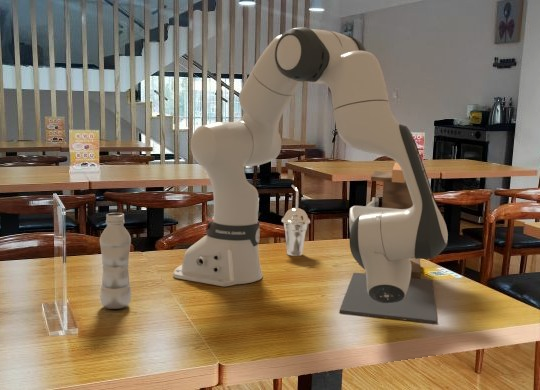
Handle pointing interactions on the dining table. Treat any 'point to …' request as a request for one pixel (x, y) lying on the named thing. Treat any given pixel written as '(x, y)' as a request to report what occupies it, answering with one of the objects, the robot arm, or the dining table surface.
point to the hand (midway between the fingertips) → (396, 201)
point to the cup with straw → (295, 228)
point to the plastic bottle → (115, 263)
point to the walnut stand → (397, 205)
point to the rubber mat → (410, 308)
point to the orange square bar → (397, 174)
